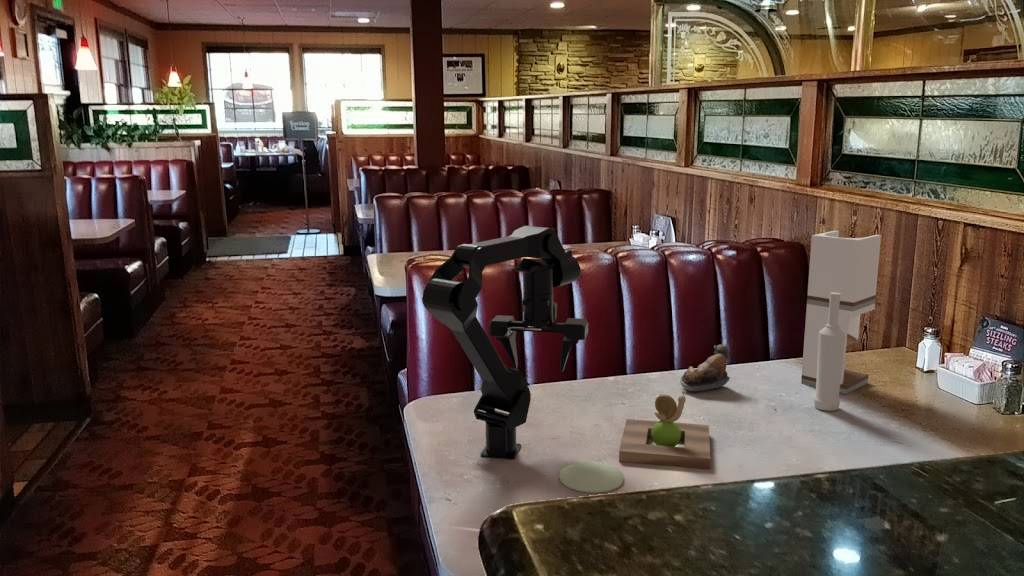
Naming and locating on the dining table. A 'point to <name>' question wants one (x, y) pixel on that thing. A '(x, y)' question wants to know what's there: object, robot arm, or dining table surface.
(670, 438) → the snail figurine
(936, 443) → the dining table surface
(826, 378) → the bottle
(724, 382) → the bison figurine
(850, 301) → the white tall stand
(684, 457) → the frame
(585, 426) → the dining table surface
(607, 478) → the felt coaster
